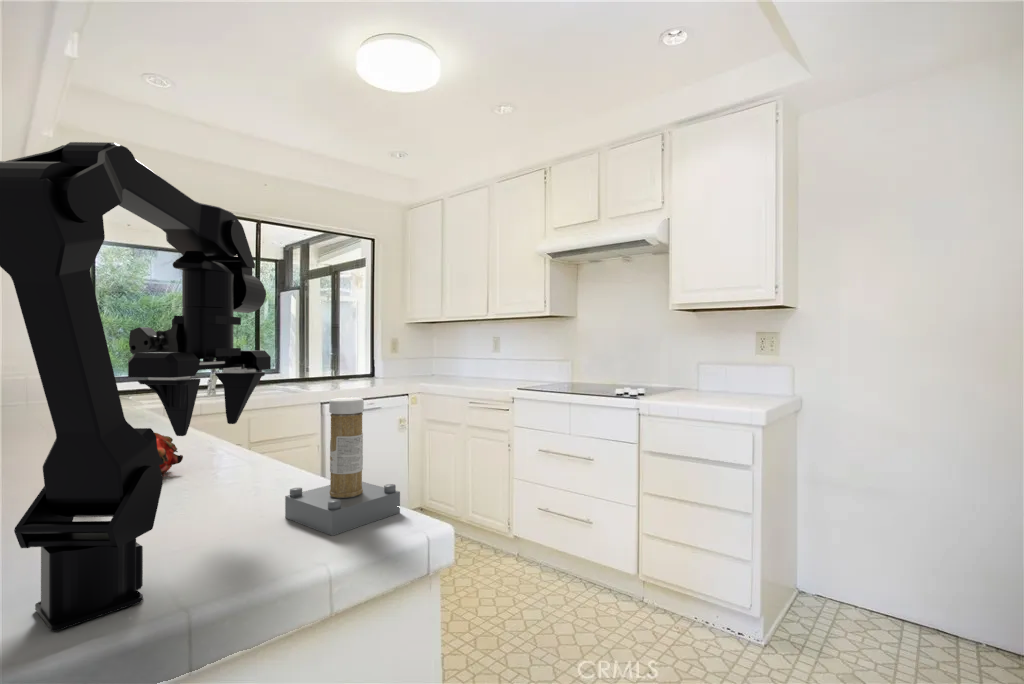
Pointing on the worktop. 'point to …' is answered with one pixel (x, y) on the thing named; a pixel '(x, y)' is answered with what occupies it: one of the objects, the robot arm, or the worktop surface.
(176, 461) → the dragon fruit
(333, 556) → the worktop surface
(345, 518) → the base brick
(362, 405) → the sprinkles bottle
